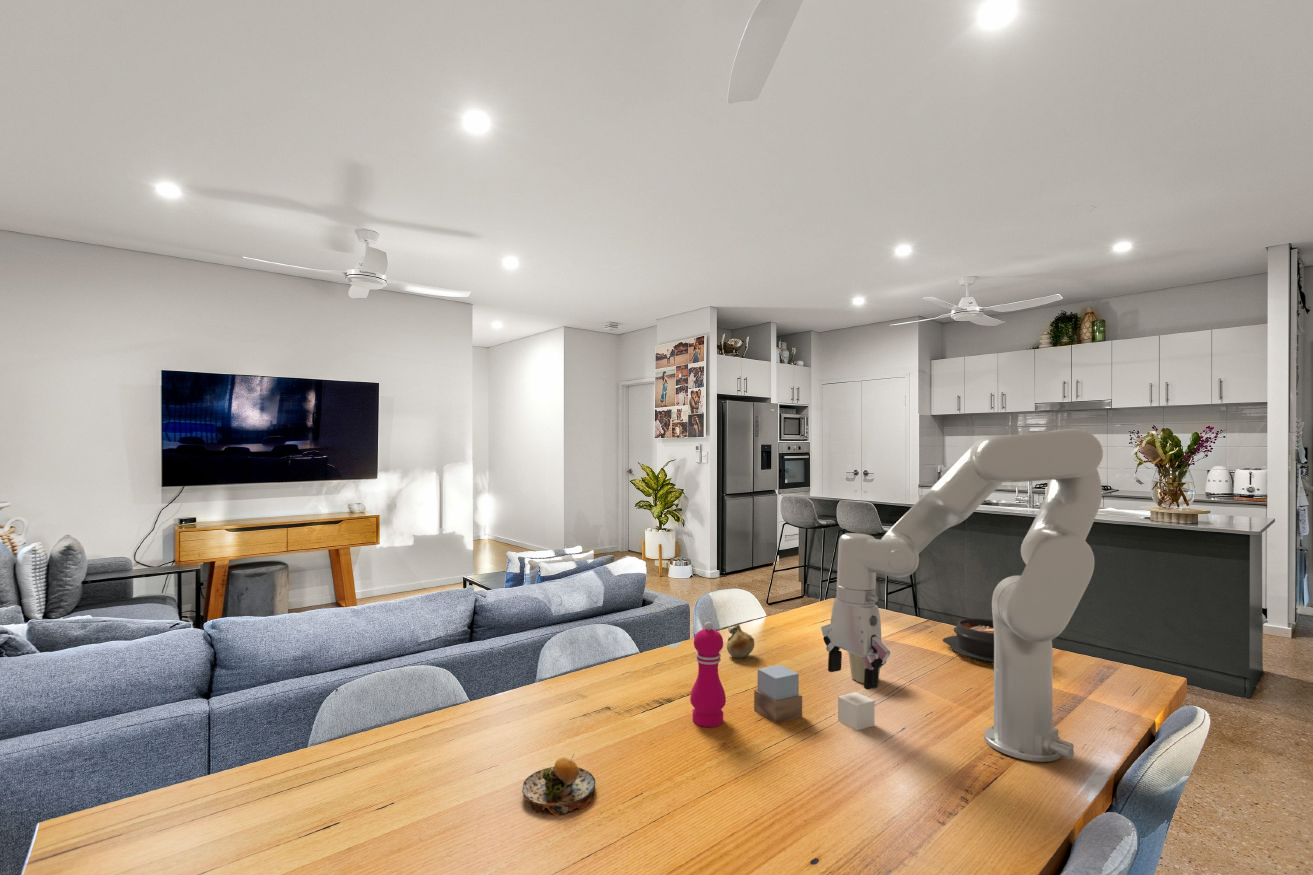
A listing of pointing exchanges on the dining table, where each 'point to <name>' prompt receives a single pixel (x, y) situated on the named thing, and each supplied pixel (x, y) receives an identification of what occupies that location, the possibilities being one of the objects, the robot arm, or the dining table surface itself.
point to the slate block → (778, 682)
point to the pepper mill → (708, 679)
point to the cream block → (856, 711)
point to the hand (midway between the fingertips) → (852, 679)
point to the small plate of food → (559, 788)
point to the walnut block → (778, 707)
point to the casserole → (974, 639)
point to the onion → (739, 643)
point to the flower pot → (859, 667)
